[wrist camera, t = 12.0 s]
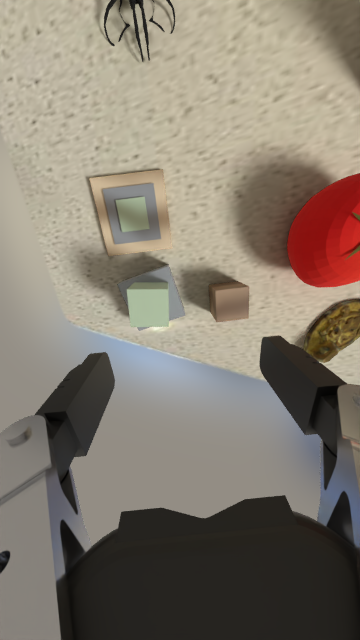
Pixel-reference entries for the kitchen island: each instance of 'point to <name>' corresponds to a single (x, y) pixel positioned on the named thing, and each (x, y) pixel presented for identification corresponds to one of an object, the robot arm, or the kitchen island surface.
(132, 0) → the creature
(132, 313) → the sage block
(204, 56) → the kitchen island surface
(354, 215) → the tomato
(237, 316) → the walnut block
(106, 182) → the tile
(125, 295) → the grey base block
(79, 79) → the kitchen island surface
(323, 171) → the kitchen island surface
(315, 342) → the stuffed eggplant half
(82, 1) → the kitchen island surface
